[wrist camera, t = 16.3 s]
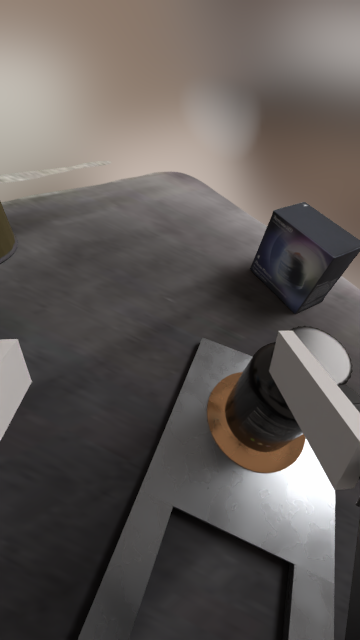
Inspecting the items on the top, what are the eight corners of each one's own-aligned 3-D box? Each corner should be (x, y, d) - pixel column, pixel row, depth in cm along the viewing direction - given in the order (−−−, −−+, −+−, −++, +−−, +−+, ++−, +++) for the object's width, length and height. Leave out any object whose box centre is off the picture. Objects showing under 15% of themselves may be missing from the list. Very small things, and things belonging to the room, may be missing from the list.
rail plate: (321, 849, 15) (333, 869, 14) (58, 687, 17) (54, 695, 16) (331, 392, 32) (337, 387, 31) (201, 342, 34) (202, 336, 33)
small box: (246, 269, 44) (271, 208, 36) (275, 259, 47) (304, 200, 39) (293, 316, 39) (334, 256, 31) (323, 301, 42) (368, 243, 33)
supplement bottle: (304, 439, 27) (392, 384, 18) (244, 465, 25) (308, 418, 16) (267, 378, 31) (323, 306, 21) (212, 396, 29) (248, 325, 19)
